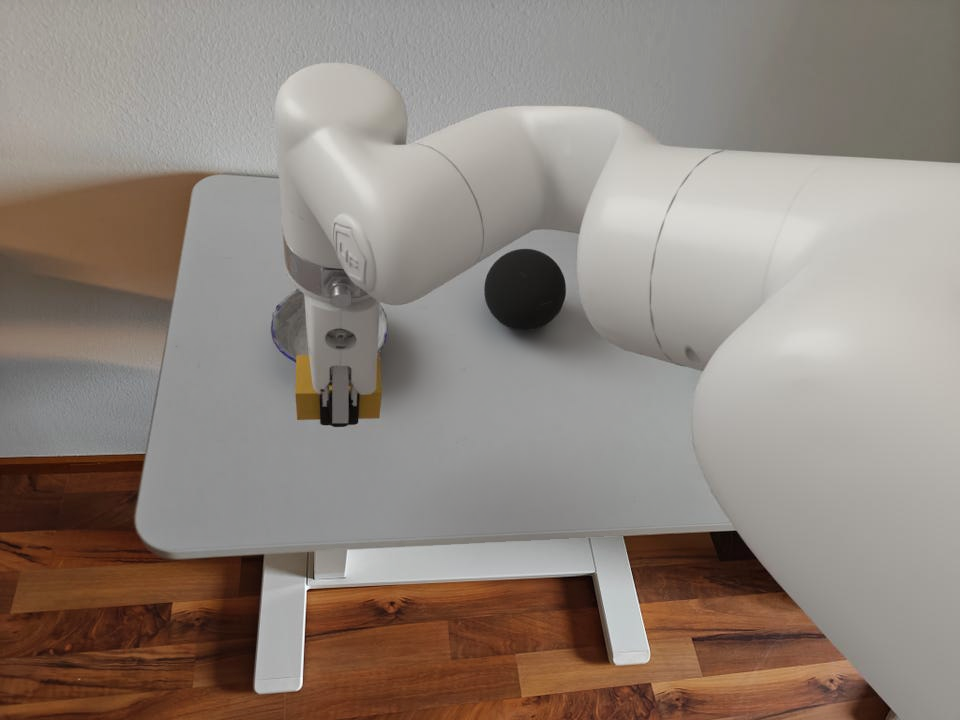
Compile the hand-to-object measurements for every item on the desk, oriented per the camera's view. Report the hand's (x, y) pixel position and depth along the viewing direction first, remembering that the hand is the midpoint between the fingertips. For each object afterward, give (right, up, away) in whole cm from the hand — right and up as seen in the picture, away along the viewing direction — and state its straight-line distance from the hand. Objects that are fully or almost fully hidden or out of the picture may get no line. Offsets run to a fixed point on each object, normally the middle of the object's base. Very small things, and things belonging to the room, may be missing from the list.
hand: (339, 398), depth 64 cm
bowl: (-5, +5, +22) cm, 23 cm away
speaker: (+17, +9, +30) cm, 35 cm away
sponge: (0, 0, 0) cm, 0 cm away
